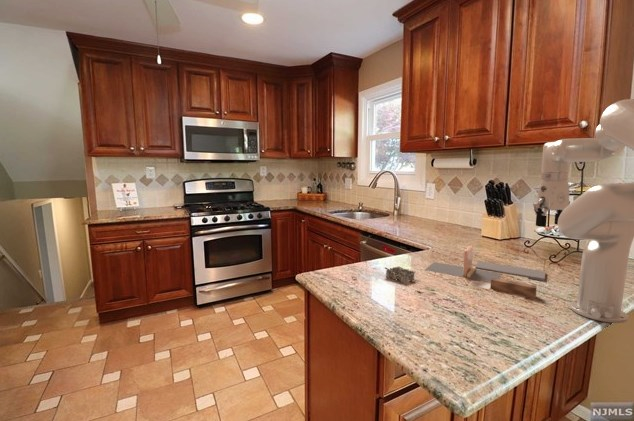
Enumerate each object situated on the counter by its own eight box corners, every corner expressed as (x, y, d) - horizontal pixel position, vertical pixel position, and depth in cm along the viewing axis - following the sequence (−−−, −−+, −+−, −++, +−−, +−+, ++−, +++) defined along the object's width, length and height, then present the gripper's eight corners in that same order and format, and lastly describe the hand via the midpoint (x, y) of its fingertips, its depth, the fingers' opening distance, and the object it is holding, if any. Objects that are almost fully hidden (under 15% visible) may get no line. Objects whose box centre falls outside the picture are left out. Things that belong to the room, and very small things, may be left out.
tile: (466, 276, 120) (467, 251, 118) (462, 275, 120) (464, 251, 119) (471, 269, 128) (473, 246, 126) (468, 269, 128) (469, 245, 127)
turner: (535, 294, 104) (536, 284, 103) (535, 300, 99) (536, 289, 99) (471, 281, 116) (471, 272, 115) (467, 286, 111) (468, 277, 111)
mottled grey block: (383, 276, 123) (383, 267, 122) (395, 273, 127) (396, 263, 126) (404, 284, 114) (404, 274, 113) (417, 280, 118) (417, 270, 118)
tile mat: (495, 284, 112) (496, 280, 112) (424, 270, 128) (424, 266, 128) (500, 274, 123) (501, 270, 122) (434, 263, 138) (434, 259, 138)
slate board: (544, 281, 115) (544, 278, 115) (474, 269, 130) (474, 266, 130) (545, 273, 123) (545, 271, 123) (478, 263, 138) (478, 260, 137)
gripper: (548, 177, 102) (544, 228, 104) (582, 177, 107) (578, 225, 109) (526, 177, 109) (522, 225, 111) (559, 177, 114) (555, 222, 116)
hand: (550, 225), depth 110 cm, fingers open, 9 cm apart
